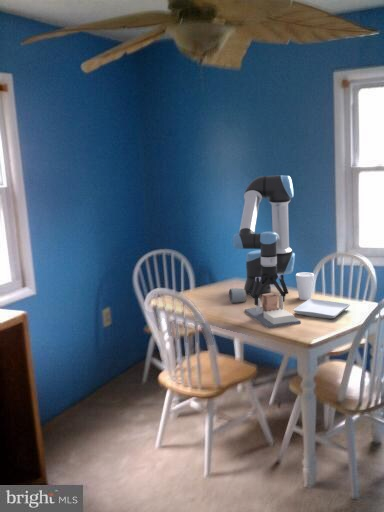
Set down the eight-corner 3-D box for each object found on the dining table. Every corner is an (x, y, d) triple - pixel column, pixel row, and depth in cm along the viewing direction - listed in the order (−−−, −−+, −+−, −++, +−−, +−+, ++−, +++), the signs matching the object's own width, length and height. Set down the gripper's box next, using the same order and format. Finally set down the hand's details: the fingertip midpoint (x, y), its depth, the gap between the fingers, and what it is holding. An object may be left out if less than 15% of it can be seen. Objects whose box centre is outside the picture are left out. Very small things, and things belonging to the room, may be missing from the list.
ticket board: (244, 311, 263) (244, 303, 262) (274, 307, 267) (274, 299, 266) (268, 328, 236) (267, 318, 235) (300, 323, 241) (300, 314, 240)
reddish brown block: (262, 312, 255) (262, 294, 253) (272, 311, 256) (271, 292, 255) (267, 315, 249) (267, 297, 248) (277, 314, 251) (277, 295, 249)
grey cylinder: (247, 303, 277) (246, 288, 276) (232, 304, 276) (231, 290, 275) (242, 298, 288) (241, 284, 286) (227, 299, 286) (226, 286, 285)
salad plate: (335, 322, 241) (335, 315, 240) (292, 316, 253) (291, 309, 252) (350, 310, 258) (350, 303, 257) (309, 305, 270) (309, 298, 269)
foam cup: (310, 301, 275) (310, 276, 273) (293, 299, 280) (293, 275, 277) (316, 296, 283) (316, 273, 281) (299, 295, 288) (299, 271, 285)
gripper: (248, 269, 242) (249, 315, 246) (295, 263, 248) (295, 309, 252) (242, 266, 249) (243, 311, 253) (288, 261, 255) (288, 305, 259)
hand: (269, 310), depth 253 cm, fingers open, 11 cm apart
